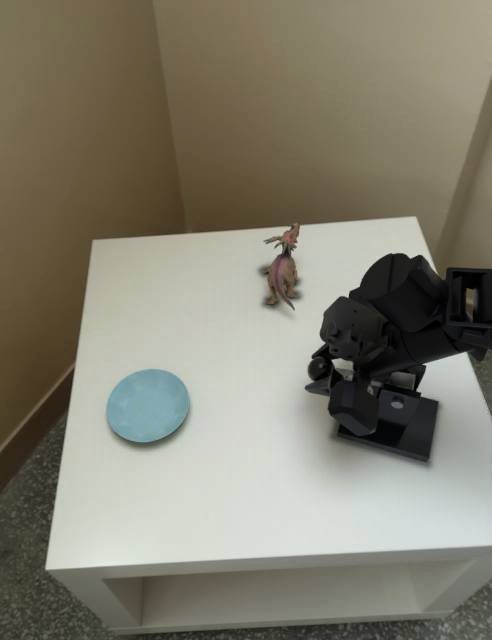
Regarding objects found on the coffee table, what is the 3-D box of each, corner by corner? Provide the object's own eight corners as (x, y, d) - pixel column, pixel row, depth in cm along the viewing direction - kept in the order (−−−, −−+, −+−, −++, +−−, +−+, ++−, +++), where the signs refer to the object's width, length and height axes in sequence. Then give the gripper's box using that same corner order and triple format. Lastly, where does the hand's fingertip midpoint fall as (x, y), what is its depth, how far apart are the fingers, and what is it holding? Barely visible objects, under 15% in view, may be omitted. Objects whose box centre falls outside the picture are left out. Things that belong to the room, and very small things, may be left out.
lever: (305, 386, 70) (303, 371, 67) (312, 364, 72) (310, 348, 69) (409, 407, 65) (412, 391, 62) (414, 383, 67) (417, 366, 64)
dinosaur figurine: (263, 257, 92) (263, 215, 84) (298, 257, 91) (300, 215, 83) (261, 319, 84) (261, 280, 76) (299, 320, 84) (302, 280, 76)
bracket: (336, 436, 72) (346, 394, 63) (351, 382, 77) (362, 336, 67) (426, 462, 69) (451, 423, 60) (436, 405, 74) (461, 360, 64)
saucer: (94, 429, 75) (89, 422, 73) (136, 365, 81) (133, 357, 79) (165, 461, 72) (163, 455, 70) (205, 392, 77) (203, 384, 76)
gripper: (381, 235, 60) (283, 286, 71) (360, 371, 50) (250, 404, 62) (435, 292, 65) (335, 331, 76) (426, 426, 55) (312, 447, 67)
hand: (310, 373), depth 70 cm, fingers open, 5 cm apart
